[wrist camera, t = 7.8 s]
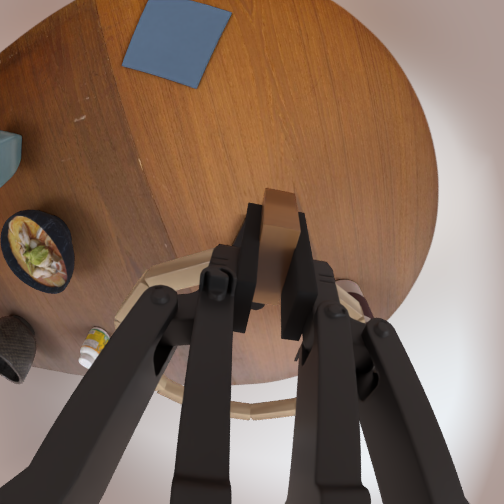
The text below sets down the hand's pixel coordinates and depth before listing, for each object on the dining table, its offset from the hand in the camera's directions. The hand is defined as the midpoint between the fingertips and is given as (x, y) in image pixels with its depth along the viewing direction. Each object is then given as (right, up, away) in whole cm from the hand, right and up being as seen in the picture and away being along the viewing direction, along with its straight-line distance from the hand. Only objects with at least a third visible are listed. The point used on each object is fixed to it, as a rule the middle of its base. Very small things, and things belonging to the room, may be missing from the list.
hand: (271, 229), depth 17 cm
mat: (-12, +28, +16) cm, 34 cm away
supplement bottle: (-38, -21, +50) cm, 66 cm away
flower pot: (-45, +19, +24) cm, 55 cm away
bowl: (-40, +3, +34) cm, 53 cm away
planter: (-69, -23, +53) cm, 90 cm away
